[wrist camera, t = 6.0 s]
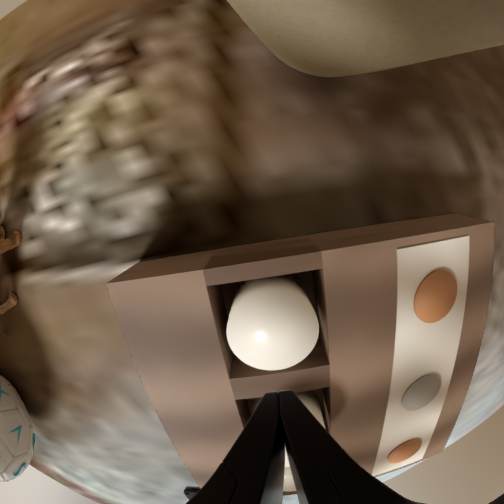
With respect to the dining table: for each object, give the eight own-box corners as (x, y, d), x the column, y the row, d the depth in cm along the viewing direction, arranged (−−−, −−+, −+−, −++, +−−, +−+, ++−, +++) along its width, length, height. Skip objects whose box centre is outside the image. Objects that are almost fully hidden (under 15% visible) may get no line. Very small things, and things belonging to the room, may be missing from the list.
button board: (425, 423, 21) (443, 453, 16) (212, 463, 22) (206, 500, 17) (453, 213, 16) (497, 222, 12) (139, 261, 17) (103, 285, 13)
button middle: (319, 423, 17) (327, 460, 13) (257, 432, 17) (256, 470, 13) (317, 379, 16) (328, 417, 12) (246, 389, 16) (243, 429, 13)
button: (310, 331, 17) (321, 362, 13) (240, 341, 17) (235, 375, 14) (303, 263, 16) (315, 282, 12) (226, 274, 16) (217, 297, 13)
